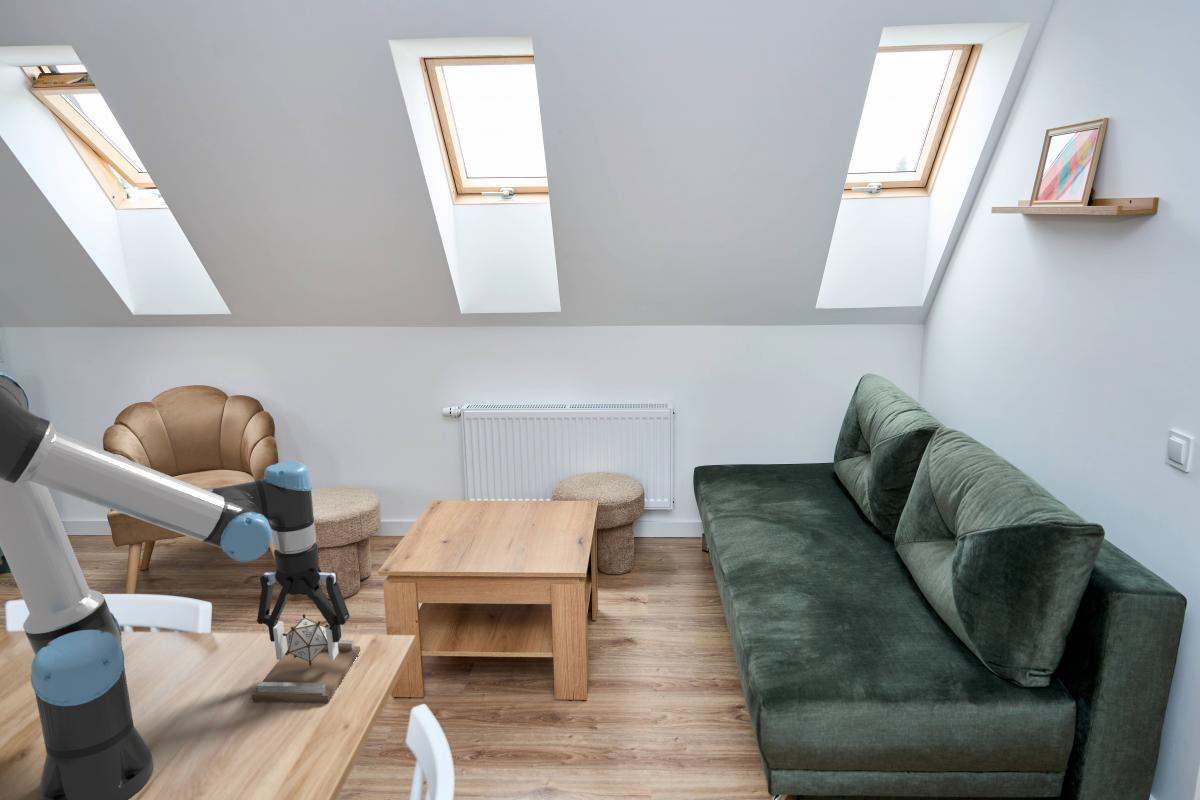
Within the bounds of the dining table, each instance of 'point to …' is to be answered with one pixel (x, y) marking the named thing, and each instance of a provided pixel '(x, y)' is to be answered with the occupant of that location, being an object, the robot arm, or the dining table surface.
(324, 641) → the game die
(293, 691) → the loading pallet
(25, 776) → the dining table surface
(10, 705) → the dining table surface
